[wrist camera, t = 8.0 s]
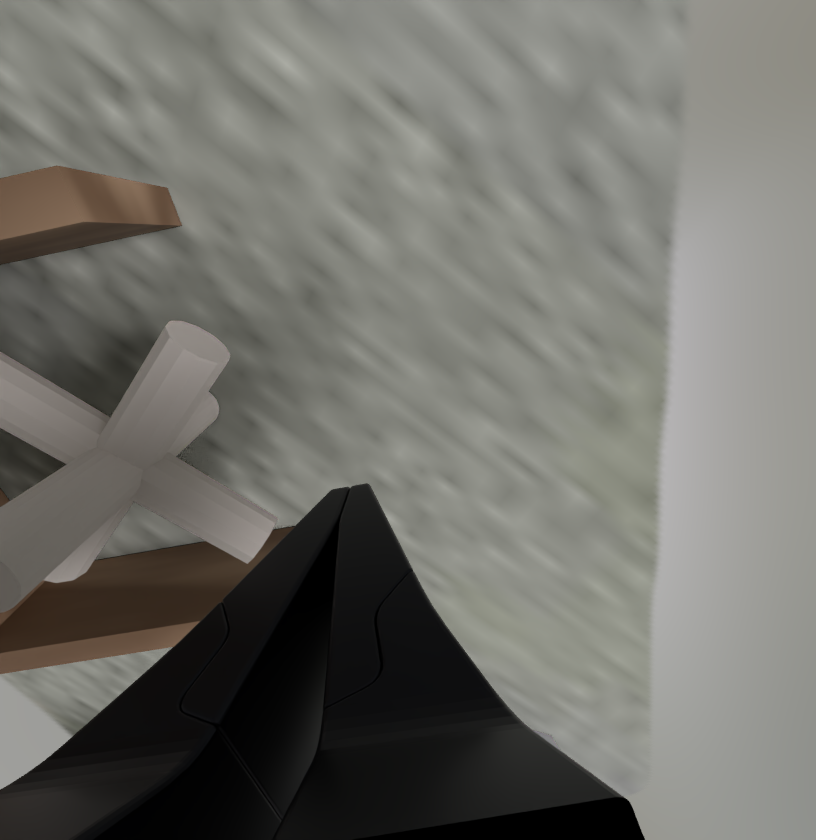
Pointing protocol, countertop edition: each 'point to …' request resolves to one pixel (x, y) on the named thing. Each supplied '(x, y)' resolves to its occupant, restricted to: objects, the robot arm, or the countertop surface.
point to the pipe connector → (118, 464)
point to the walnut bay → (125, 575)
